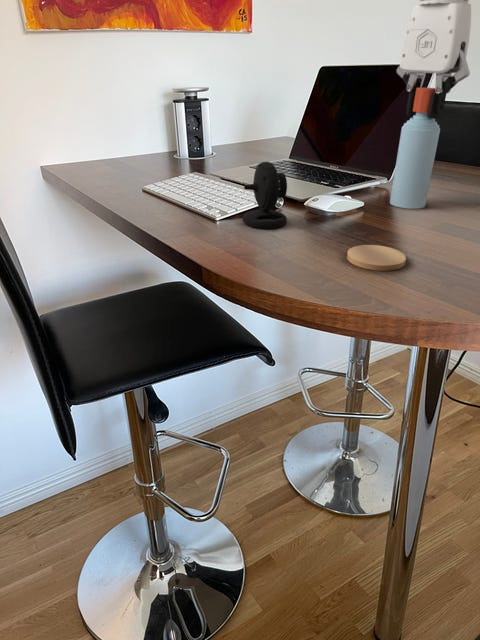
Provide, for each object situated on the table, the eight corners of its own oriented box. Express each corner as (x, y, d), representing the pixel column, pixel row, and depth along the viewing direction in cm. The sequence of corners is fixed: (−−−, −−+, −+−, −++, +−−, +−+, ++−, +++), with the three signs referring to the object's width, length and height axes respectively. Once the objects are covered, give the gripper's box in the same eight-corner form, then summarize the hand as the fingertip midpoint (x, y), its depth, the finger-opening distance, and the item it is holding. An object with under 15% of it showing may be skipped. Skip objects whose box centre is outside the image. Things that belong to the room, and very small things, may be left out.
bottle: (404, 198, 101) (423, 92, 91) (432, 205, 96) (454, 95, 87) (382, 202, 97) (399, 93, 88) (410, 210, 93) (431, 96, 83)
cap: (408, 111, 89) (411, 87, 87) (421, 110, 91) (425, 87, 89) (426, 113, 86) (431, 89, 84) (439, 112, 88) (444, 88, 87)
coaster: (373, 246, 75) (374, 241, 75) (417, 263, 69) (418, 257, 69) (335, 256, 71) (335, 251, 71) (378, 275, 65) (378, 269, 65)
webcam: (293, 228, 82) (298, 165, 77) (250, 231, 80) (252, 167, 75) (277, 214, 89) (280, 156, 84) (236, 217, 87) (237, 158, 82)
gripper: (388, -4, 84) (372, 113, 93) (480, -11, 73) (452, 123, 81) (415, -1, 88) (398, 111, 97) (507, -7, 77) (477, 120, 85)
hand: (423, 115), depth 89 cm, fingers closed on cap, 3 cm apart
